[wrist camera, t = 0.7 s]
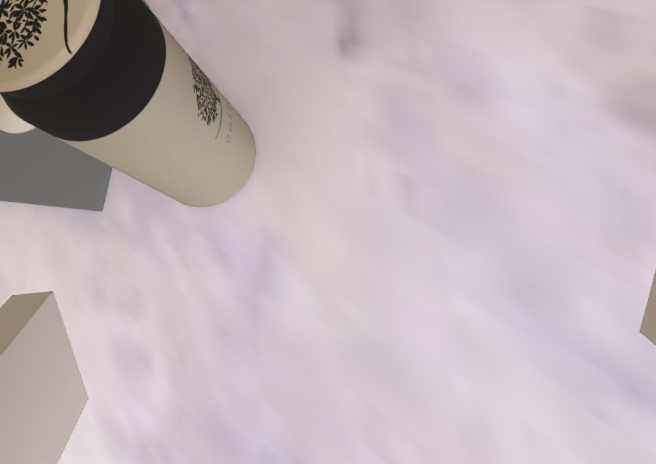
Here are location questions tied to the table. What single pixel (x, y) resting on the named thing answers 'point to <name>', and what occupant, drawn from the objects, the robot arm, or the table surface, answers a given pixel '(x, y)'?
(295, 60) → the table surface
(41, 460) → the robot arm
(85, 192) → the mat
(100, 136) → the travel mug
